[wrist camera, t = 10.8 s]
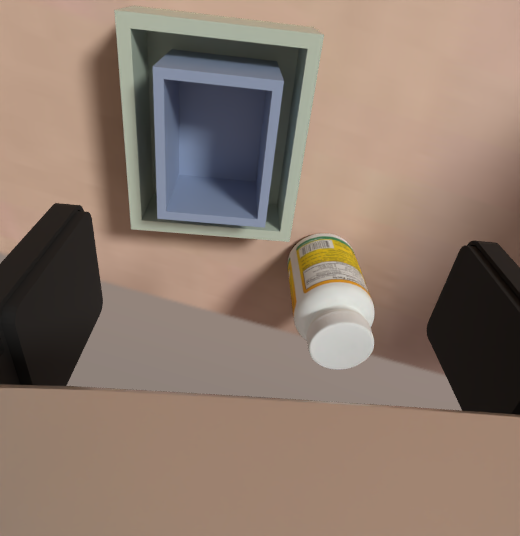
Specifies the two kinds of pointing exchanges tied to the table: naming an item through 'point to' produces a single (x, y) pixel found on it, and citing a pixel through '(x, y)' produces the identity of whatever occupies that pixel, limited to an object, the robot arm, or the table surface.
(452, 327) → the robot arm
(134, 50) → the large crate
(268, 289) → the table surface
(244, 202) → the small crate
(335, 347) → the supplement bottle
